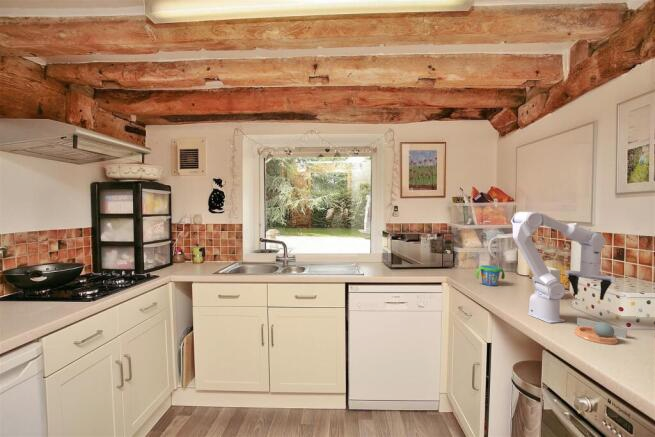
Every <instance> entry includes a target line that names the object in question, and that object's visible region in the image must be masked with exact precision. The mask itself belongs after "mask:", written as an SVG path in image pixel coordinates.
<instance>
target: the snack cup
mask: <svg viewBox="0 0 655 437" xmlns="http://www.w3.org/2000/svg"><path fill="white" fill-rule="evenodd" d="M480 272H481V280H482V281H481V282H482V284H483V285H485V286H489V287H491V286H492V287H493V286H495V287H497V285H498V284H499V279H502V280H505V278H506V276H505V270H504V269H502V268H501V267H500V266H496V265H487V264H486V265H484V264H483V265H480V266H479V268H477V270H476V273H475V278H476V279H480V278H479V275H480ZM500 273H501V278H500Z"/></svg>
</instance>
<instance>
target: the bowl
mask: <svg viewBox="0 0 655 437" xmlns="http://www.w3.org/2000/svg"><path fill="white" fill-rule="evenodd" d="M573 333H574V334H575V336H577V337H579V338H581V339H584V340H587V341H589V342H593V343H597V344H603V345H617V344H618V343H619V340H618V338H617V336H616V335H613V336H612V337H610V338H604V337H600V336H598V335H597V334H596V333H595V331H594V327H587V326H575V329H574V331H573Z"/></svg>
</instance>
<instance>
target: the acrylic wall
mask: <svg viewBox="0 0 655 437" xmlns="http://www.w3.org/2000/svg"><path fill="white" fill-rule="evenodd" d="M599 322H600V321H599ZM599 322H598V321H594V320H590V319H587V318H581V317H577V318H576V327H578V326H587V327H594V326H595V324H597V323H599ZM610 325H611V326H612V327H613V329H614V335H616V337H619V338H620V337H621V338H623V339H627V336H628V328H624V327H620V326H616V325H612V324H610Z"/></svg>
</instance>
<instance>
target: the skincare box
mask: <svg viewBox="0 0 655 437" xmlns="http://www.w3.org/2000/svg"><path fill="white" fill-rule="evenodd" d="M546 267H547V269H548V270H549V272H550V273H551V274H552V275H553V276H554V277H555V278H556V279H557V280H558V282H559V283H560V284H561V282H560V280H561V272H562V270H561V269H557V268H554V267H551V266H547V265H546ZM534 293H537V291H536V290H535V289H534Z"/></svg>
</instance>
